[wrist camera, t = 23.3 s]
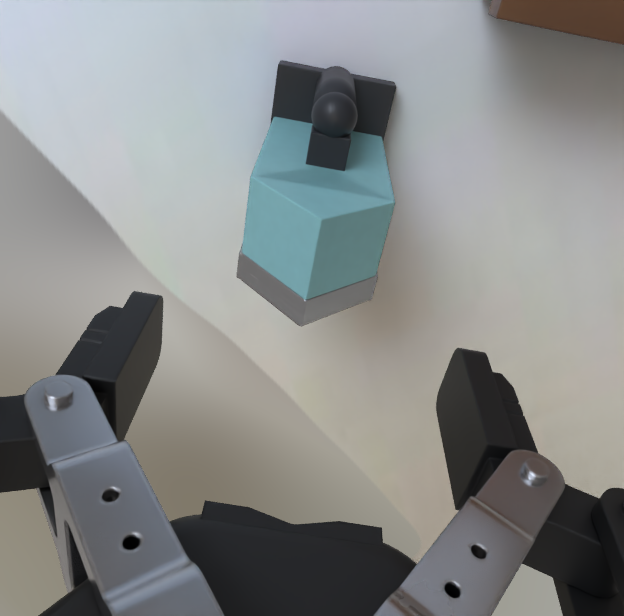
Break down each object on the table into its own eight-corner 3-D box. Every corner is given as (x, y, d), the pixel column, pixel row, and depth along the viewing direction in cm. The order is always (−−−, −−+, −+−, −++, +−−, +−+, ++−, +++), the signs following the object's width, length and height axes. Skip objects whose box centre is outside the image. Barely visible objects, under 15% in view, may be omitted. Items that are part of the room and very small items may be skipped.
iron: (374, 339, 21) (428, 151, 17) (224, 314, 21) (245, 117, 17) (364, 211, 31) (396, 73, 27) (262, 192, 31) (281, 51, 27)
